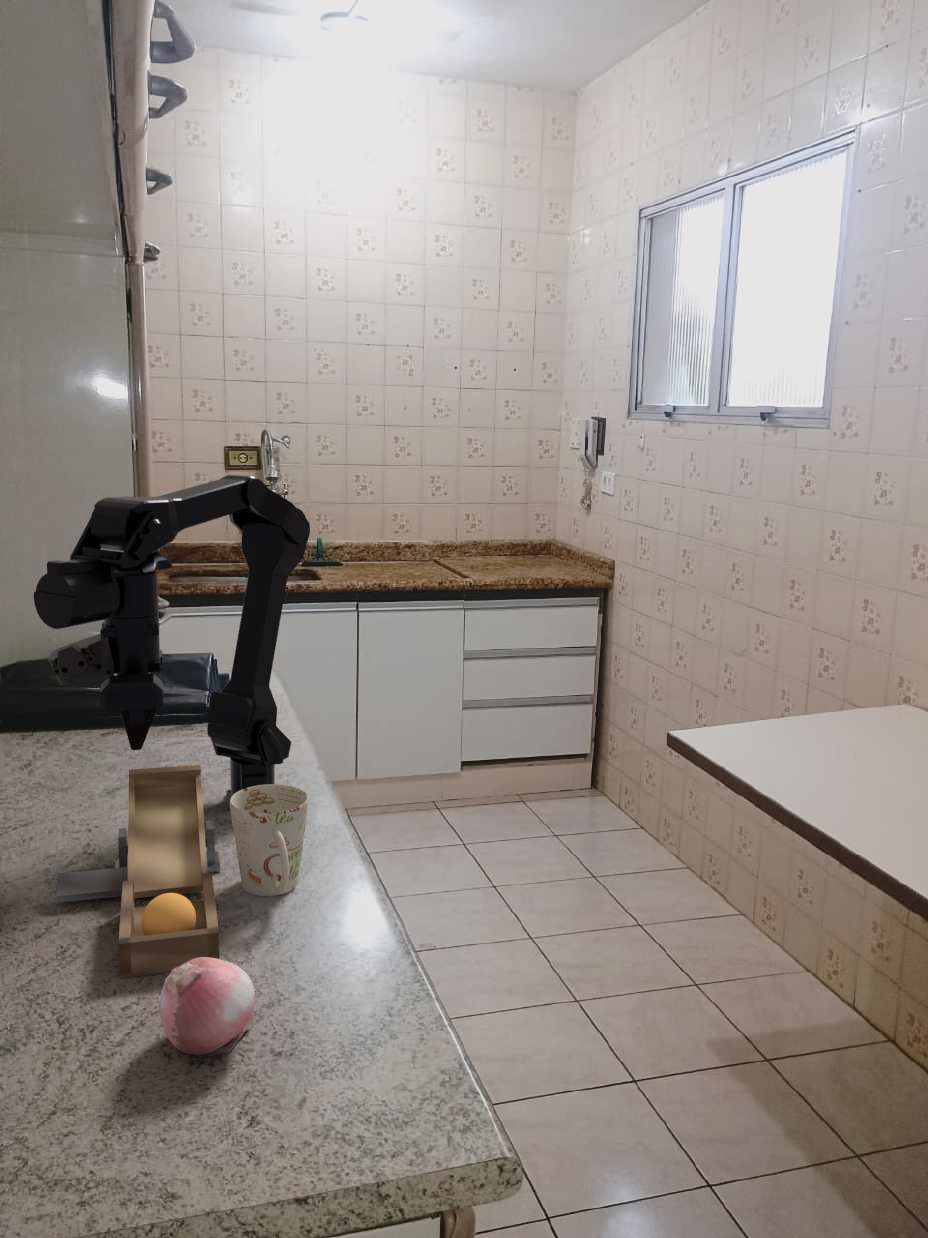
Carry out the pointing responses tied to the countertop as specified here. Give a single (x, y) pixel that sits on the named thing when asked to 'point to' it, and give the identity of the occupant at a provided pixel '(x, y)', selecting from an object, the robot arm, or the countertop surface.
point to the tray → (166, 936)
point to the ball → (168, 915)
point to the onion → (206, 1006)
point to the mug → (269, 836)
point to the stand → (211, 854)
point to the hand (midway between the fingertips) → (136, 749)
